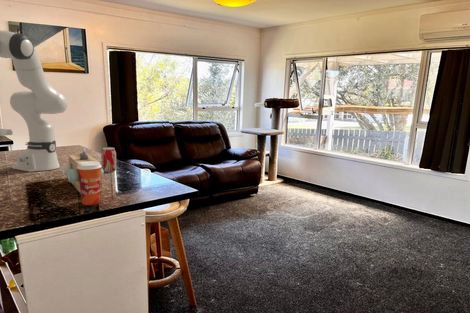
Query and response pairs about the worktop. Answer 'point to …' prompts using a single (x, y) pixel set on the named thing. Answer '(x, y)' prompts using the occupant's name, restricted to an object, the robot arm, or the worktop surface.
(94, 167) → the coffee cup
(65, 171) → the cream knob
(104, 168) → the soda can
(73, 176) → the teal knob
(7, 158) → the worktop surface
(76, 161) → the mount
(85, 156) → the potentiometer
